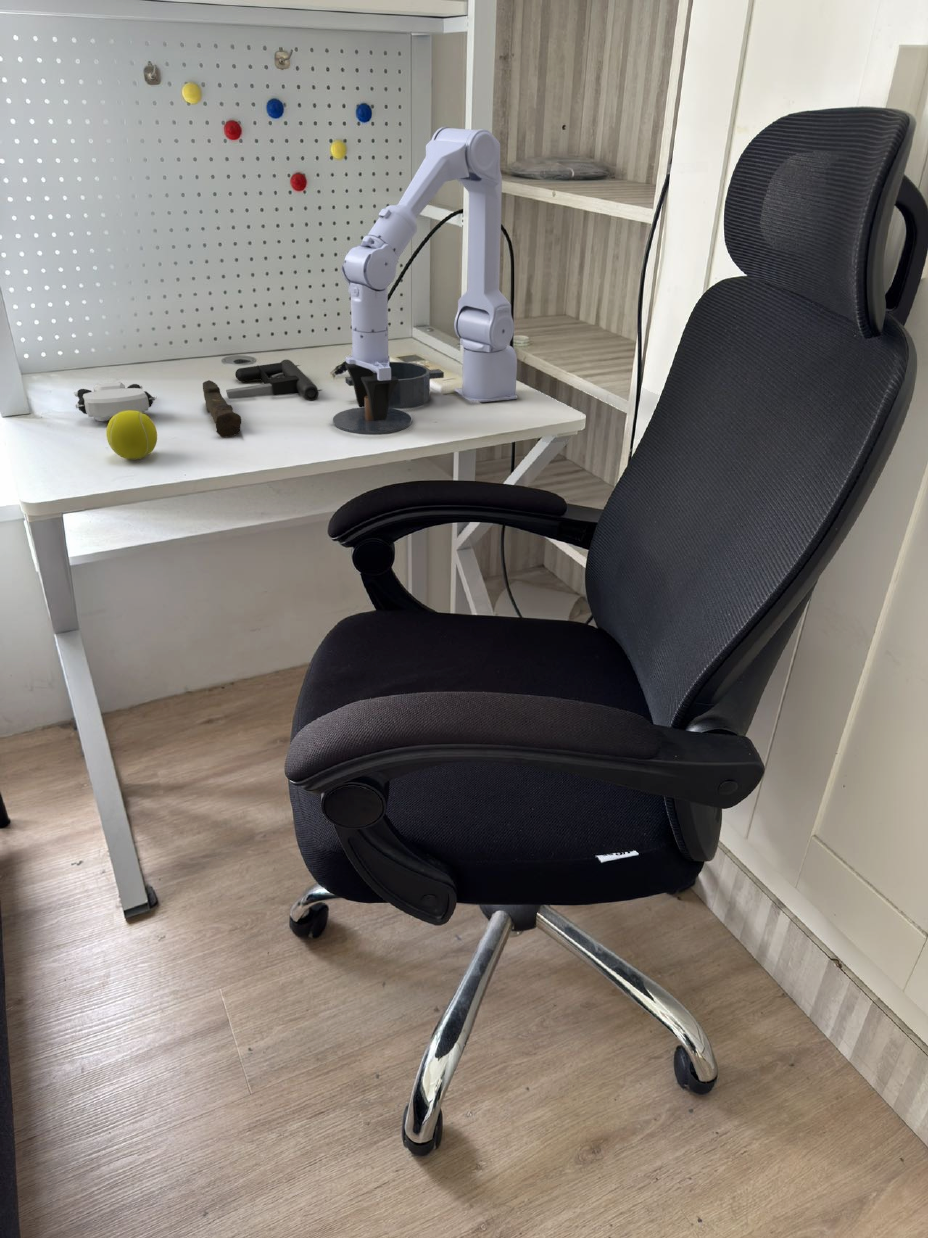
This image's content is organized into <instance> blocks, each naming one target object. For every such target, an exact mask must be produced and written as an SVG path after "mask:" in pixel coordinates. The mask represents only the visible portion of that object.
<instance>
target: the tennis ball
mask: <svg viewBox="0 0 928 1238" xmlns="http://www.w3.org/2000/svg"><path fill="white" fill-rule="evenodd" d="M157 431H158V430H157V427H156V425H155V423H154V422H153V420H152V419H151V417H149V415H147V413H144V412H143V413H142V412H139V411H133V410H128V411H122V412H119V413H118V414H116V415H114V416H113V417H112V418H111V419H110V420H108V424H107V426H106V440H107V442H108V446H109V447H110V449H111V450H112V451H113V453H115V454H116V455H117V456H119V457H121V458H123V459H126V460H140V459H143V458H145V457H147V456H149V455H150V454H151V453H152V452H153V451H154V449H155V448H156V445H157V441H158V432H157Z"/></svg>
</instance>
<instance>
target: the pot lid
mask: <svg viewBox="0 0 928 1238" xmlns="http://www.w3.org/2000/svg"><path fill="white" fill-rule="evenodd" d="M364 399H365V407H355V408H354V407H353V408H348V409H344V410H342V411H339V412H337V413H335V415H333V418H332V424H333V425H334V426H335V427H336V428H337V429H339V430H341V431H343V432H348V433H353V434H360V435H382V434H390V433H395V432H400V431H402V430H405V429H407V428H409V427H410V426H411V424H412V421H413V420H412V416H411V415H410V414H409V413H407V412H405V411H403V410H400V409H395V408H388V412H387V417H386V420H379V421H374V420H373V419H372V416H371V411H370V405H369V399H368V396H365V397H364Z"/></svg>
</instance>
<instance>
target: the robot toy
mask: <svg viewBox="0 0 928 1238" xmlns="http://www.w3.org/2000/svg"><path fill="white" fill-rule="evenodd" d="M73 396H75V397H76V398H78V401H77V403H76V404H75V408H76V409H78V410H79V411H80V412H82V414H84V415H87V416H88V417H89V418H93V419H94V420H96V421H99V422H107V421H110V419H111V418H112V417H113V416H114V415H116V414H118V413H119V412H122V411H128V410H133V411H139V412H142V413H143V414H144V413H145V412H148V411H149V408H151V407H152V405H153V403H154V401H156V399H158V398H157V395H154V396H152V394H150V393H149V392H148V391H147V390H144V389H143V385H140V384H137V383H132V384H129V385H128V386H127V387H126V385H125V384H124V383H122V382H121V381H106V382H105V381H104V382H100V383H96V384H95V386H94V387H93V391H92V390H91V389H88V388H87V389H86V388H80V389H78V390H77V391H74V392H73Z"/></svg>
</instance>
